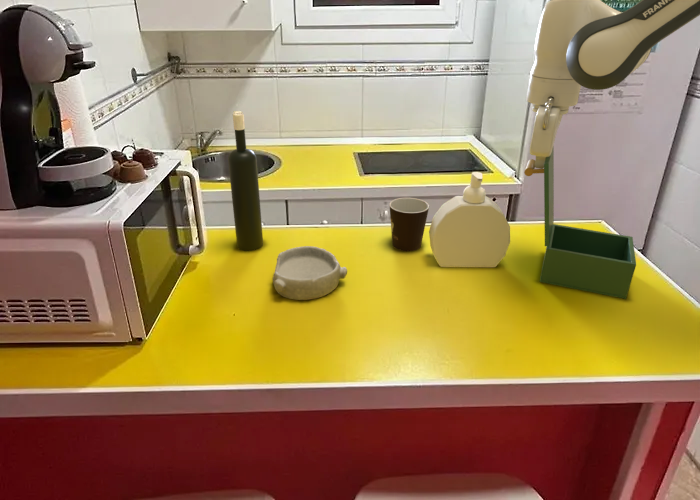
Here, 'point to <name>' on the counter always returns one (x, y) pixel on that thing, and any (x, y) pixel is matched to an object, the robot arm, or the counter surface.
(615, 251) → the green box
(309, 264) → the dish
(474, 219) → the soap bottle
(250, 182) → the wine bottle
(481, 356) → the counter surface
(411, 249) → the coffee mug
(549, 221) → the lid
